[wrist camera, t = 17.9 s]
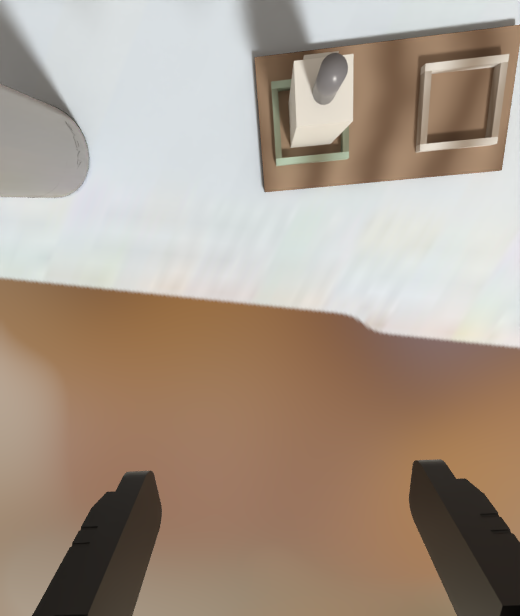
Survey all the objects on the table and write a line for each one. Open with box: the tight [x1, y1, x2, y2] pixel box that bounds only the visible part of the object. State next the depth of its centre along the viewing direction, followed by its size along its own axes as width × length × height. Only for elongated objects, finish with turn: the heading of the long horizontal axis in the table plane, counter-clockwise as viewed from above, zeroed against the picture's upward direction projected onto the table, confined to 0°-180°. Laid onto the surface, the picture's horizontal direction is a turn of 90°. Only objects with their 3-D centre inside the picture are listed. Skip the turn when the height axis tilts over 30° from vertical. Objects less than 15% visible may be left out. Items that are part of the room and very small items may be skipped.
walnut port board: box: [255, 25, 520, 192], centre depth 31 cm, size 24×12×2 cm, turn 95°
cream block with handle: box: [288, 51, 354, 148], centre depth 25 cm, size 4×5×14 cm
